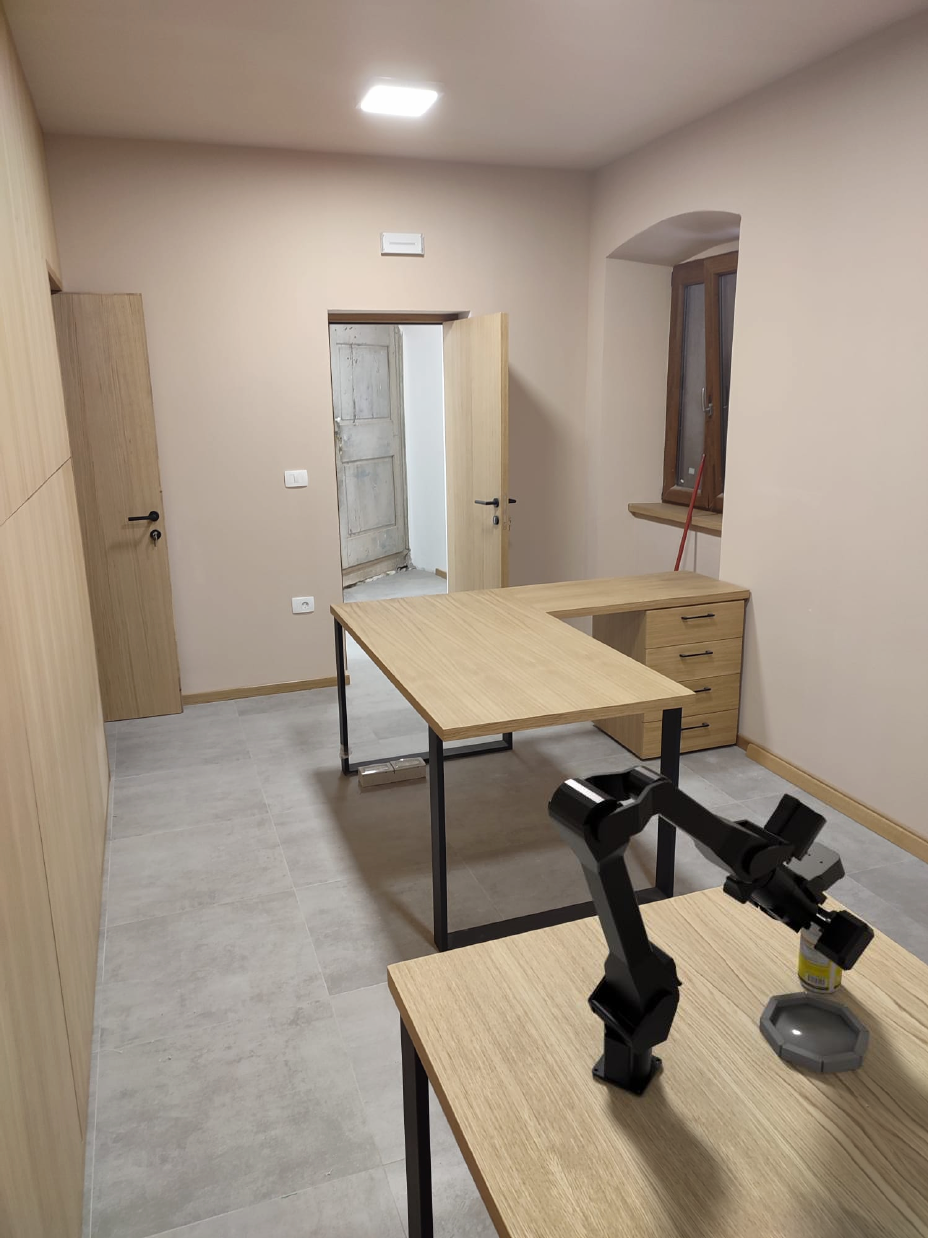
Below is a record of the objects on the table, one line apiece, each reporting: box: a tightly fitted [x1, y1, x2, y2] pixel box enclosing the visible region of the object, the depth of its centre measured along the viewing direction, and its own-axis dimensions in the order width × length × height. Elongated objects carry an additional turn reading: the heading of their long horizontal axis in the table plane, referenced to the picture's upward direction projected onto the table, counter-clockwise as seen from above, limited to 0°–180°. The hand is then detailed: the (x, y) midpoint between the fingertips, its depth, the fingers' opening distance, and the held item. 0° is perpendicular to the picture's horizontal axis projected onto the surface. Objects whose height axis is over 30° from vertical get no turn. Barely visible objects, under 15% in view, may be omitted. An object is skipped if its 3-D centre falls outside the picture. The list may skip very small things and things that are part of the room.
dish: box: [758, 990, 871, 1075], centre depth 108 cm, size 12×12×2 cm
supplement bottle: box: [797, 908, 843, 994], centre depth 117 cm, size 6×6×10 cm
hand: (830, 937), depth 117 cm, fingers closed on supplement bottle, 5 cm apart
